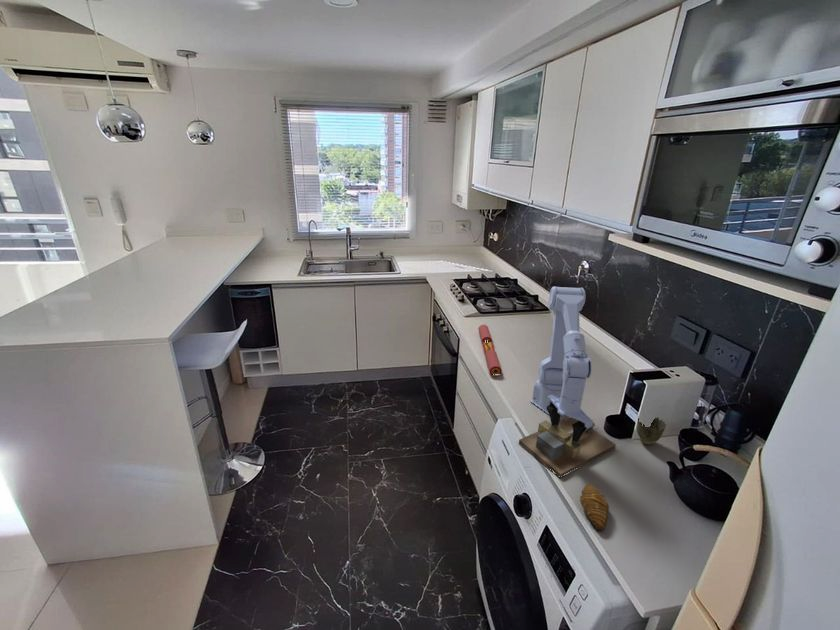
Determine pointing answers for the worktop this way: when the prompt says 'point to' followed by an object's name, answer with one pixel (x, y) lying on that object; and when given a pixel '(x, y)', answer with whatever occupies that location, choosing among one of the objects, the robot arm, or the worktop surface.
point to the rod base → (567, 461)
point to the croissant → (595, 506)
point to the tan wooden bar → (561, 438)
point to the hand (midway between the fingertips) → (564, 433)
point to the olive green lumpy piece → (651, 431)
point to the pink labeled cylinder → (489, 351)
